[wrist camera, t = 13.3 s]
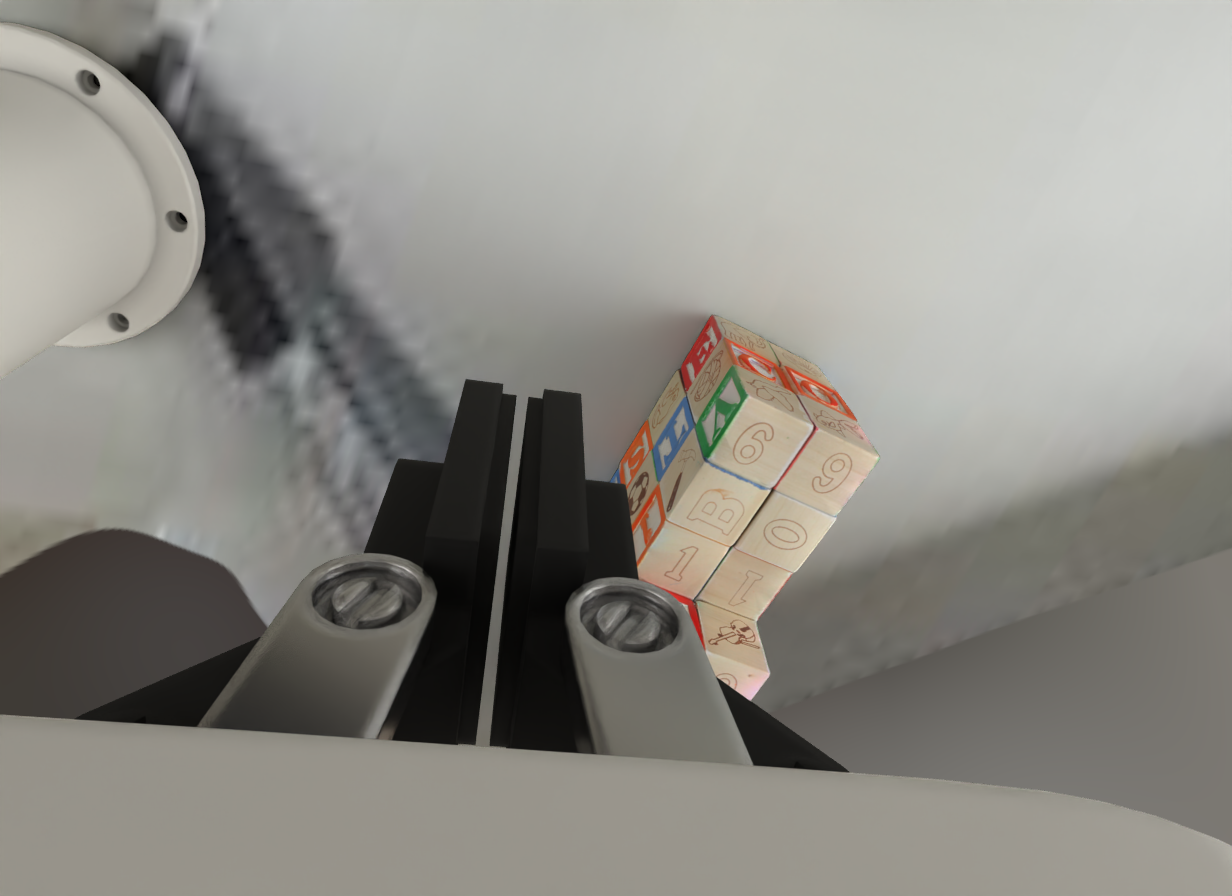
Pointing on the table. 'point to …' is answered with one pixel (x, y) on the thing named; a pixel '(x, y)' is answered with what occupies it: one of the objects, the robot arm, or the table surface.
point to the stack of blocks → (739, 486)
